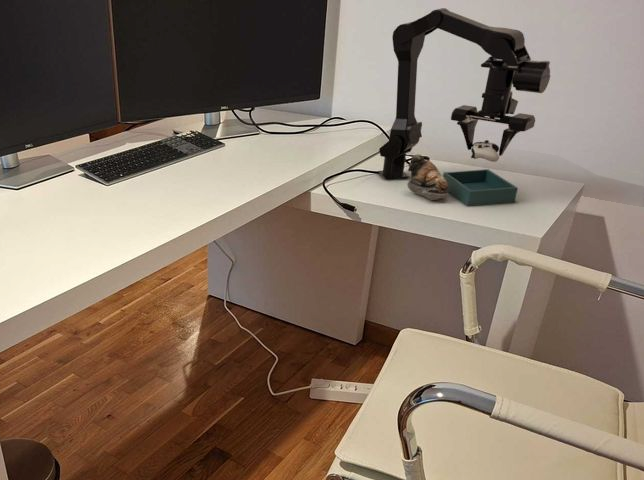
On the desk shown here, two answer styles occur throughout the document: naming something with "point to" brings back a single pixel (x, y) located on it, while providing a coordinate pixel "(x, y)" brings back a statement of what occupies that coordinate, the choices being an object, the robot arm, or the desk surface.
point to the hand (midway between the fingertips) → (484, 152)
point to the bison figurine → (426, 179)
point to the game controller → (485, 151)
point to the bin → (480, 187)
